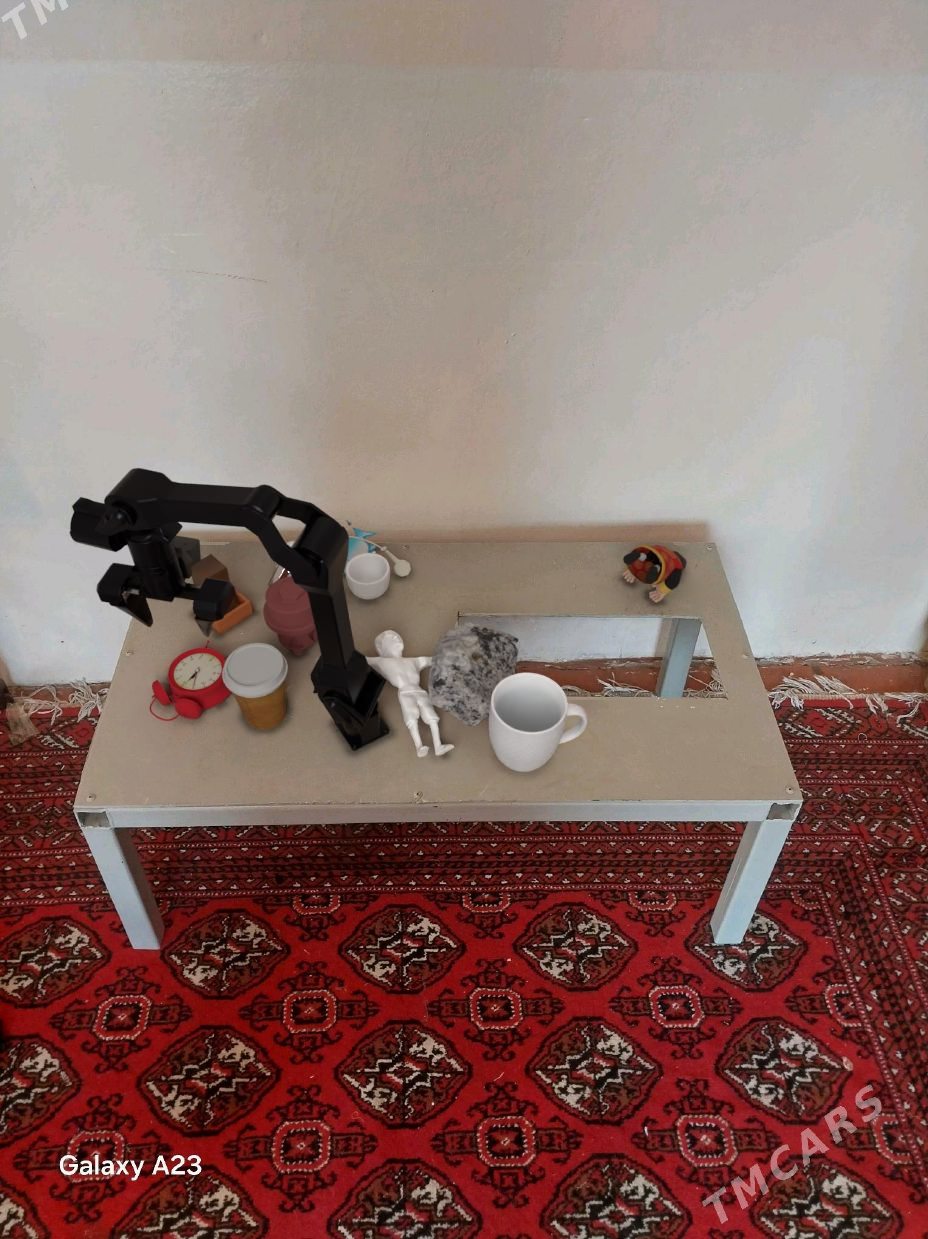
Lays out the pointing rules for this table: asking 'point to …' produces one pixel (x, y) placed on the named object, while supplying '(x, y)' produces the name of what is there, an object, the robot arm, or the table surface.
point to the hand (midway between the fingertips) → (179, 629)
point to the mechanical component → (290, 615)
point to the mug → (530, 720)
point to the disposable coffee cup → (258, 683)
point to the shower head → (400, 565)
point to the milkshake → (280, 571)
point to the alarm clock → (193, 683)
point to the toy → (359, 545)
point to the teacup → (368, 575)
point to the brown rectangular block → (211, 573)
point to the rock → (470, 669)
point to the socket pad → (234, 614)
